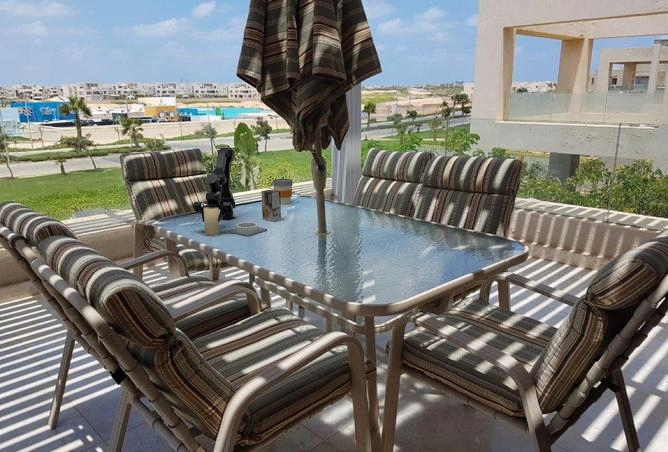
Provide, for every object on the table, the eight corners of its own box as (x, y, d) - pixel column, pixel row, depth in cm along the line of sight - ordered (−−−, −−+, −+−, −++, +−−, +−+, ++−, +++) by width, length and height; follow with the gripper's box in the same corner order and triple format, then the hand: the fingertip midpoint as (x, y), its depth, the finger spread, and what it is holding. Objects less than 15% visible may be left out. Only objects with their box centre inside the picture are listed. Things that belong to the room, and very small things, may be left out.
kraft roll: (212, 231, 252) (211, 205, 248) (222, 233, 248) (221, 207, 245) (202, 234, 246) (200, 208, 243) (212, 236, 242) (210, 210, 239)
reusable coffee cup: (285, 206, 312) (284, 182, 308) (269, 204, 318) (268, 180, 314) (296, 202, 322) (296, 179, 319) (281, 200, 329) (280, 178, 325)
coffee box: (281, 220, 276) (280, 191, 273) (272, 222, 272) (271, 192, 268) (270, 217, 282) (270, 189, 279) (261, 219, 278) (261, 190, 274)
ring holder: (246, 226, 261) (246, 220, 260) (267, 230, 254) (266, 224, 253) (227, 232, 250) (226, 225, 249) (247, 236, 242) (247, 229, 241)
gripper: (192, 185, 245) (187, 212, 237) (230, 185, 245) (226, 212, 237) (198, 198, 255) (193, 224, 247) (234, 198, 255) (231, 224, 247)
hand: (210, 221), depth 244 cm, fingers closed on kraft roll, 7 cm apart
